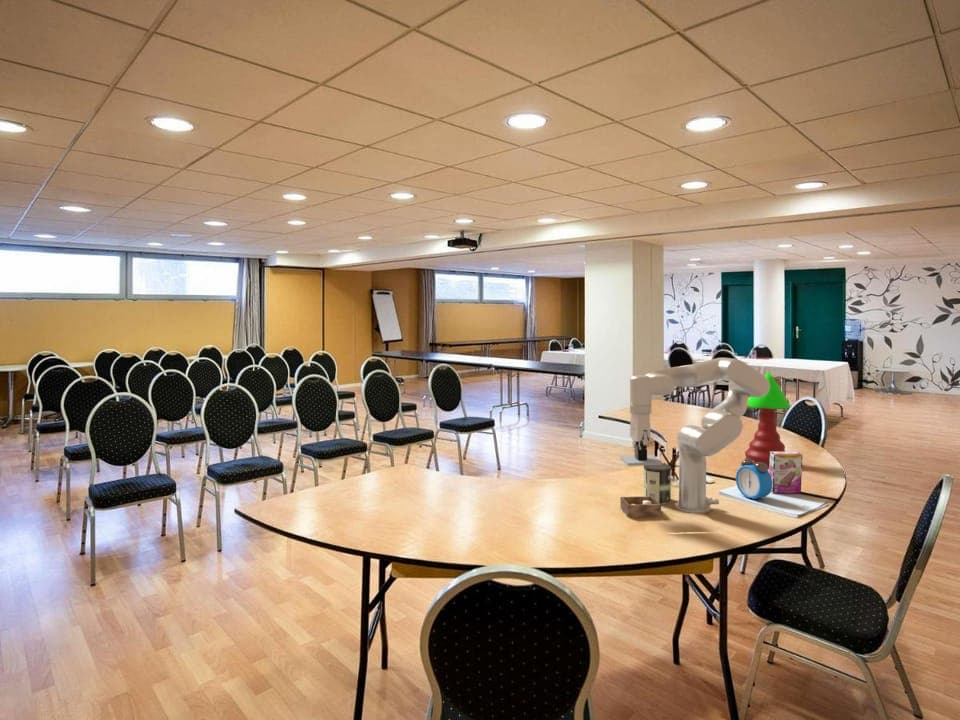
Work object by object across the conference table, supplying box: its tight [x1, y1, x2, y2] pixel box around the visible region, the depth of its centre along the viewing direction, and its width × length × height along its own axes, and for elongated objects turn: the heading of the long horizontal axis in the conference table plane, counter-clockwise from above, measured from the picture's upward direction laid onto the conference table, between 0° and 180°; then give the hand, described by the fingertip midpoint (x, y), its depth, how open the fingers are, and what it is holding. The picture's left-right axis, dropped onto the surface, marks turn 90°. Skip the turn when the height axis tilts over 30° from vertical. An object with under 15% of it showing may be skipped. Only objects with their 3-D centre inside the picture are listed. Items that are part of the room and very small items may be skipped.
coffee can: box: [643, 463, 672, 505], centre depth 231 cm, size 10×10×14 cm
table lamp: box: [743, 370, 792, 469], centre depth 283 cm, size 20×20×45 cm
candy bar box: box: [768, 451, 803, 495], centre depth 239 cm, size 11×5×16 cm, turn 84°
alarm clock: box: [735, 458, 772, 500], centre depth 233 cm, size 13×6×15 cm, turn 22°
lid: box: [619, 444, 663, 467], centre depth 215 cm, size 12×10×6 cm
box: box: [619, 495, 662, 519], centre depth 217 cm, size 12×10×5 cm
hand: (640, 458), depth 215 cm, fingers closed on lid, 3 cm apart
